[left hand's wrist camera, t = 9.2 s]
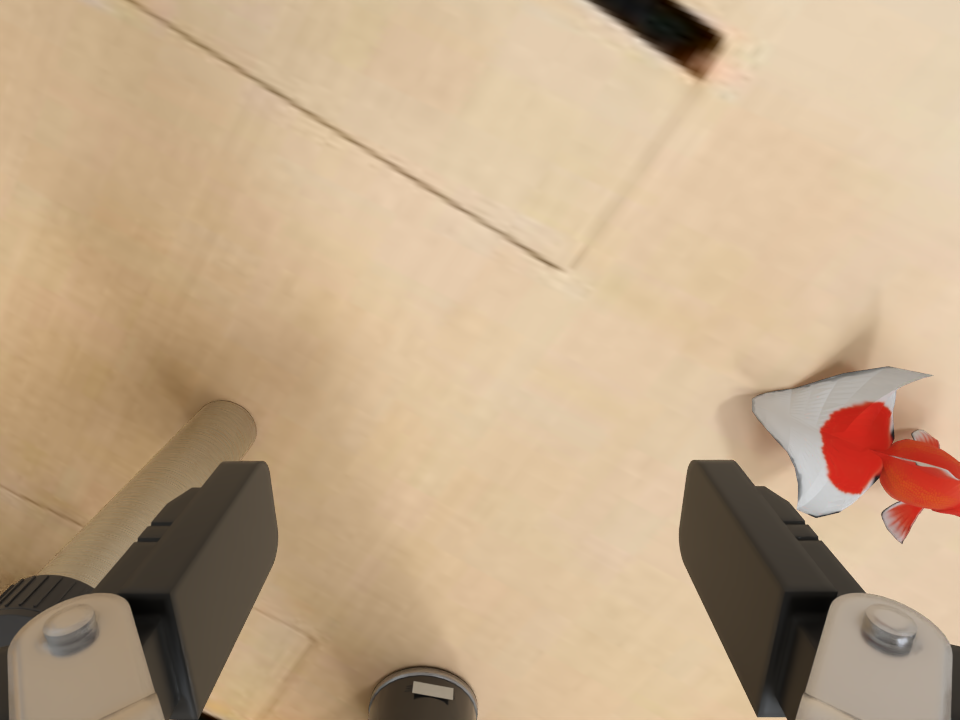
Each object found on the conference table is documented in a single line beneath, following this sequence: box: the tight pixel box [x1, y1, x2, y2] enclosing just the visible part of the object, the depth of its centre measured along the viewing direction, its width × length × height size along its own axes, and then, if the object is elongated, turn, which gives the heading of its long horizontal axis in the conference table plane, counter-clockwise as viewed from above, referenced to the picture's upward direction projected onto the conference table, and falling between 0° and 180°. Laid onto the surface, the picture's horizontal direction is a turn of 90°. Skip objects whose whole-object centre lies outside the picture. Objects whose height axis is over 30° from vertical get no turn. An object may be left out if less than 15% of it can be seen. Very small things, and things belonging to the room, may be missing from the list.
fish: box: [752, 366, 960, 543], centre depth 39 cm, size 11×16×10 cm
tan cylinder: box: [36, 401, 256, 588], centre depth 34 cm, size 4×4×20 cm
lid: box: [0, 575, 94, 647], centre depth 25 cm, size 5×5×2 cm
